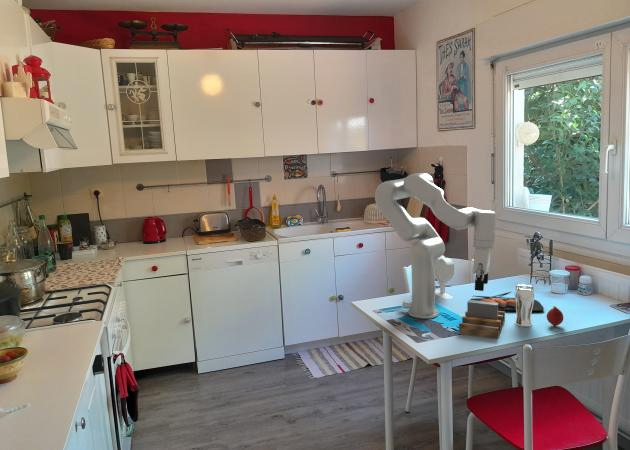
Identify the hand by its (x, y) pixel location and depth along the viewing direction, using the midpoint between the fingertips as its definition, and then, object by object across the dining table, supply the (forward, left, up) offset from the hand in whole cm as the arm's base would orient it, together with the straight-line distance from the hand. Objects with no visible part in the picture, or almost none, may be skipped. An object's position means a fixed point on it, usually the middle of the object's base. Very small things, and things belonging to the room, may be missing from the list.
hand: (481, 286), depth 199 cm
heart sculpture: (-23, +36, -16) cm, 46 cm away
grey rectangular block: (+1, 0, -15) cm, 15 cm away
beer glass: (+15, +9, -16) cm, 24 cm away
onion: (+26, +11, -16) cm, 32 cm away
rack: (+1, 0, -16) cm, 16 cm away
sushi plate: (+4, +35, -17) cm, 39 cm away
